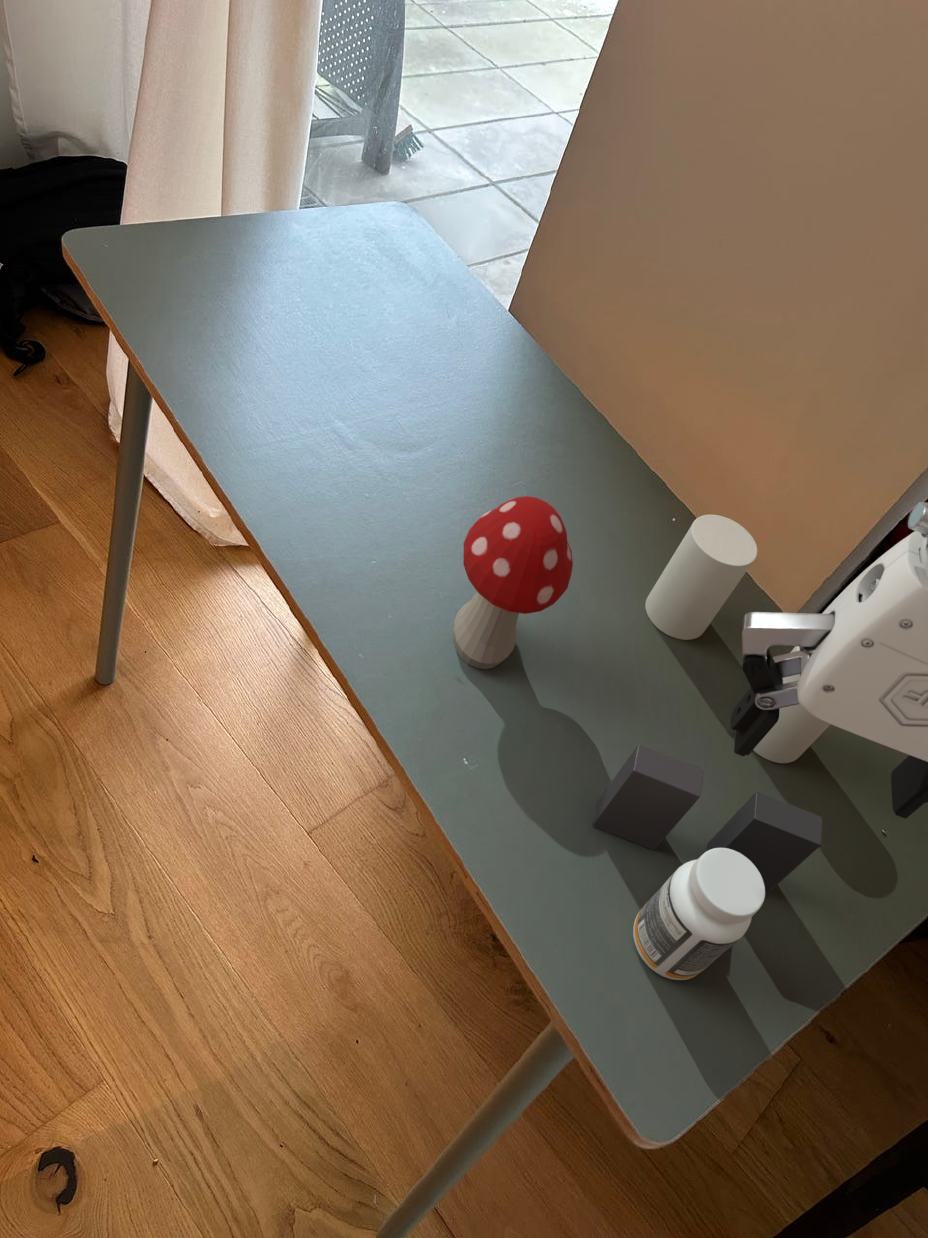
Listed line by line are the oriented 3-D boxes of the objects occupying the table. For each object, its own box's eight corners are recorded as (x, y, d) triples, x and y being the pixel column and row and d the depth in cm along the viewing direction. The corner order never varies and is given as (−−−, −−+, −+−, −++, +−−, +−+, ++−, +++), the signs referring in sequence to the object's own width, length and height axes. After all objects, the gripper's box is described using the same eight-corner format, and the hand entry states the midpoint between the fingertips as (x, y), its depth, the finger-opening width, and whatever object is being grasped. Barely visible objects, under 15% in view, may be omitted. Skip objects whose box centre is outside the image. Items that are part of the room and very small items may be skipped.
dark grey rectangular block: (658, 824, 77) (704, 769, 71) (654, 851, 75) (700, 797, 69) (597, 800, 77) (638, 743, 71) (592, 826, 75) (633, 770, 69)
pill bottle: (710, 924, 72) (778, 861, 65) (698, 997, 68) (769, 939, 61) (638, 891, 72) (697, 825, 65) (621, 962, 68) (683, 900, 61)
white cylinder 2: (804, 720, 88) (867, 650, 81) (801, 774, 84) (868, 706, 77) (740, 694, 88) (798, 622, 81) (735, 747, 84) (795, 676, 76)
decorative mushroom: (524, 701, 81) (590, 578, 70) (421, 672, 80) (472, 542, 69) (535, 611, 88) (597, 486, 77) (440, 584, 87) (489, 453, 76)
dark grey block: (767, 868, 77) (822, 817, 71) (765, 895, 75) (821, 845, 69) (706, 843, 77) (756, 790, 71) (703, 870, 75) (754, 818, 69)
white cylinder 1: (708, 604, 94) (759, 530, 87) (702, 649, 90) (755, 575, 83) (649, 580, 94) (695, 504, 87) (640, 624, 90) (688, 548, 83)
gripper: (838, 547, 42) (671, 763, 55) (1214, 694, 43) (964, 876, 55) (836, 447, 48) (684, 665, 60) (1172, 578, 48) (952, 768, 60)
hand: (818, 766), depth 58 cm, fingers open, 9 cm apart
